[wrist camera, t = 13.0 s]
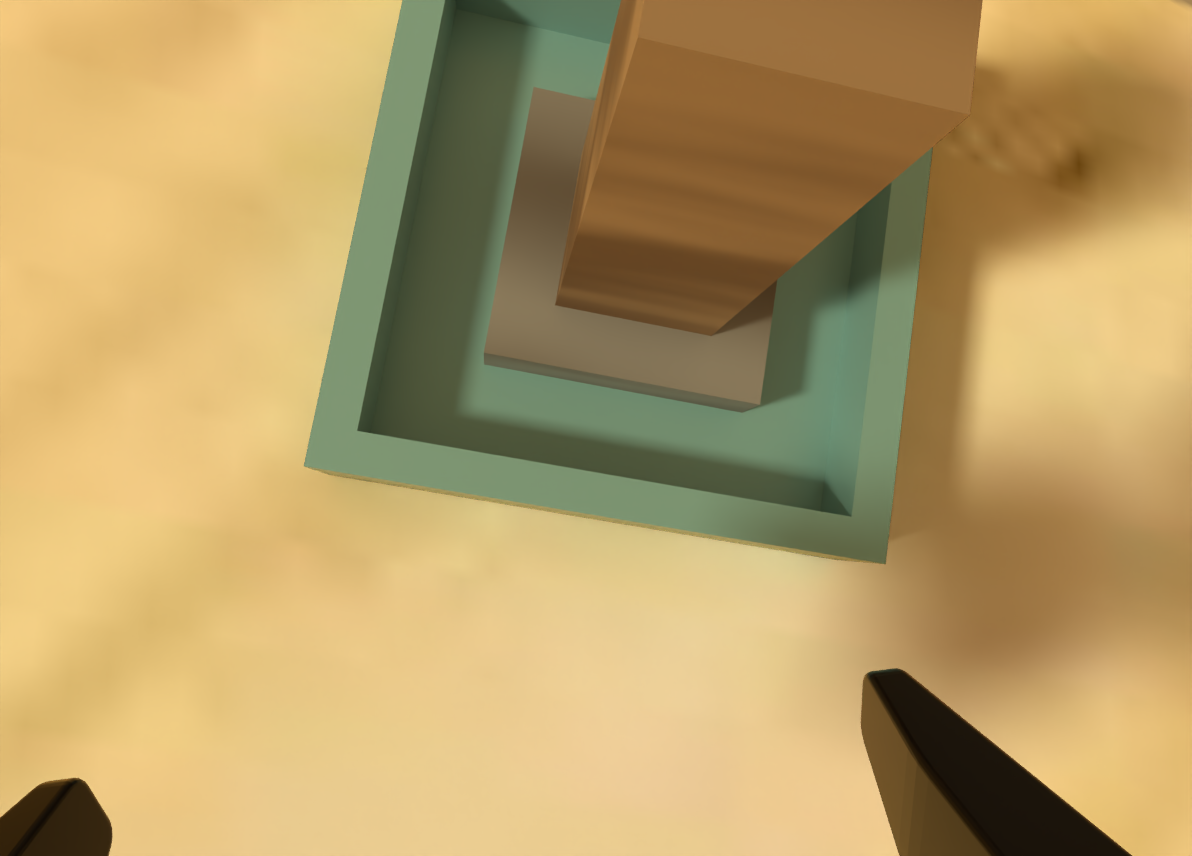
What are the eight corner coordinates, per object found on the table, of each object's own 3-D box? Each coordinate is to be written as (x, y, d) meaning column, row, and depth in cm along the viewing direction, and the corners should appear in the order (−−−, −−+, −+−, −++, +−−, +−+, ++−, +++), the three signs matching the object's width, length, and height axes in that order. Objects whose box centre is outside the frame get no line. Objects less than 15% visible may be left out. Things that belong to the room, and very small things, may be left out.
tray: (835, 559, 23) (885, 564, 21) (328, 474, 22) (303, 465, 19) (891, 97, 25) (944, 40, 22) (428, -10, 24) (420, -86, 21)
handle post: (742, 412, 23) (1077, 261, 10) (483, 364, 22) (480, 132, 9) (776, 169, 24) (1122, -258, 11) (530, 115, 23) (587, -413, 10)
